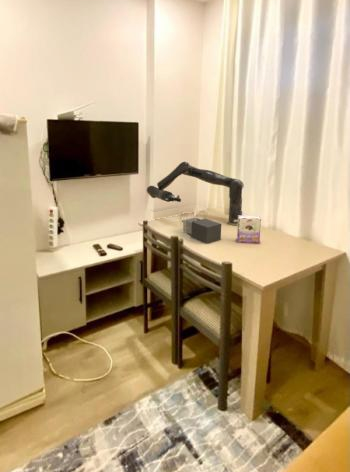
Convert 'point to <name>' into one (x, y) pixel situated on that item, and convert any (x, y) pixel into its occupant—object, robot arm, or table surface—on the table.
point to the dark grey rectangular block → (206, 230)
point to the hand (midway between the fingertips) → (180, 200)
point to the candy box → (248, 229)
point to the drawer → (188, 224)
